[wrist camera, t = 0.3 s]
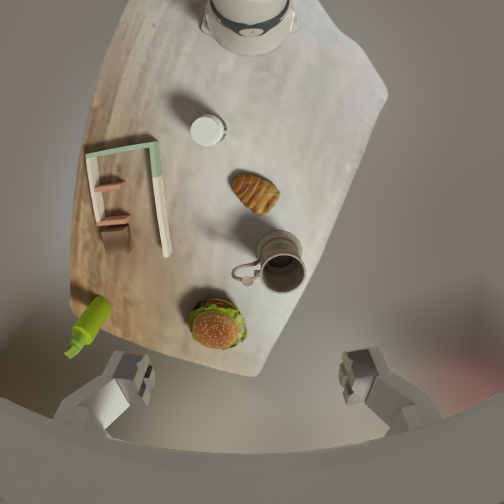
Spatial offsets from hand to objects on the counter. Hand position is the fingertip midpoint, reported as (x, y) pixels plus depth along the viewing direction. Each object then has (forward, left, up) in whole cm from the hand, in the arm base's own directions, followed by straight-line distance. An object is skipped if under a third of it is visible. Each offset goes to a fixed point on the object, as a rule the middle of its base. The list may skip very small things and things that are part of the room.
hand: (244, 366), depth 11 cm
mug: (+17, +3, -47) cm, 51 cm away
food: (+34, -9, -48) cm, 59 cm away
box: (+4, -26, -47) cm, 54 cm away
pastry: (+4, +1, -48) cm, 48 cm away
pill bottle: (-9, -7, -47) cm, 49 cm away
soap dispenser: (+31, -41, -47) cm, 70 cm away
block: (+12, -30, -47) cm, 57 cm away
